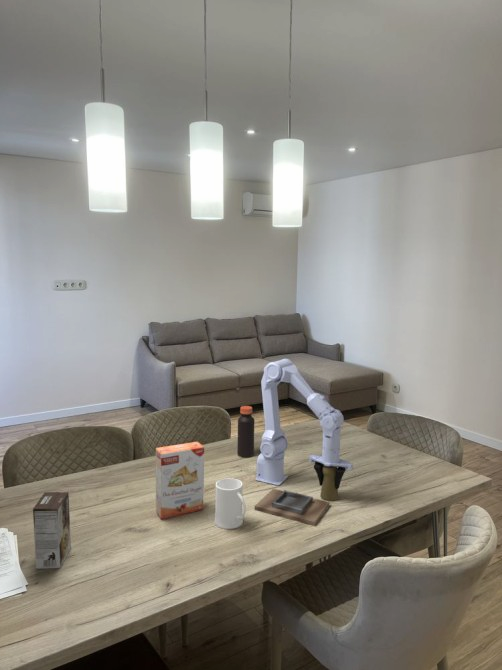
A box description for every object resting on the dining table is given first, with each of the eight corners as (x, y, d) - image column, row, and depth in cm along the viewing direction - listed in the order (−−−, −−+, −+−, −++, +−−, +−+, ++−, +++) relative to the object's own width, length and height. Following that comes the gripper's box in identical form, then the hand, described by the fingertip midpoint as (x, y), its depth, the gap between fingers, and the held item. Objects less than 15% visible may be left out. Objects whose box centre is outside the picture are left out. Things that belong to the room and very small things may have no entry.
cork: (338, 501, 156) (339, 469, 154) (319, 499, 157) (320, 468, 155) (338, 493, 162) (339, 462, 160) (320, 491, 163) (321, 461, 161)
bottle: (253, 458, 192) (254, 410, 189) (237, 457, 192) (237, 409, 189) (253, 451, 198) (254, 405, 196) (237, 451, 199) (238, 405, 196)
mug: (254, 528, 139) (255, 489, 137) (230, 537, 134) (230, 497, 132) (232, 511, 148) (233, 475, 147) (209, 519, 143) (209, 482, 142)
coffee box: (47, 548, 127) (44, 491, 125) (71, 547, 128) (69, 490, 126) (34, 569, 118) (31, 508, 116) (61, 568, 119) (58, 507, 117)
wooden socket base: (254, 509, 150) (254, 501, 149) (273, 491, 162) (273, 484, 162) (314, 525, 141) (314, 517, 140) (329, 505, 153) (329, 497, 153)
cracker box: (161, 520, 142) (160, 453, 140) (155, 511, 148) (154, 447, 145) (204, 510, 149) (204, 446, 146) (197, 502, 154) (197, 440, 152)
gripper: (306, 446, 157) (304, 485, 159) (349, 455, 150) (347, 495, 152) (313, 440, 163) (312, 478, 165) (355, 448, 156) (353, 487, 158)
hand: (329, 486), depth 159 cm, fingers closed on cork, 5 cm apart
